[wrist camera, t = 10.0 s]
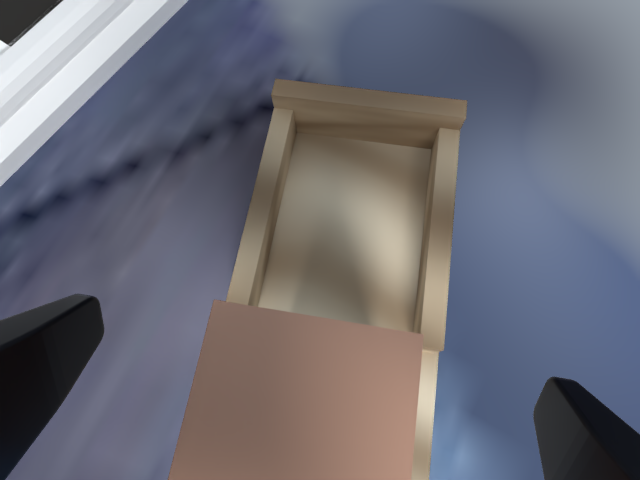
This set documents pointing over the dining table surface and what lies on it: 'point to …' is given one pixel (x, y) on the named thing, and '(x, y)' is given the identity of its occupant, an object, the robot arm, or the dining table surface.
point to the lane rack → (357, 218)
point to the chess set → (62, 62)
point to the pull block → (299, 399)
